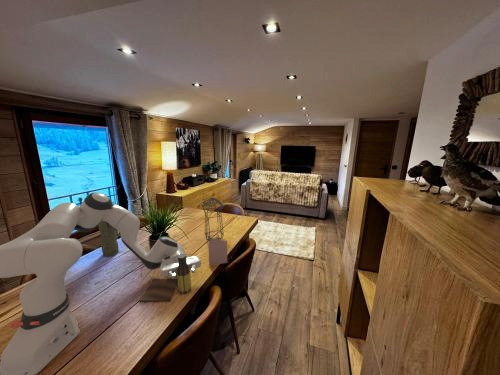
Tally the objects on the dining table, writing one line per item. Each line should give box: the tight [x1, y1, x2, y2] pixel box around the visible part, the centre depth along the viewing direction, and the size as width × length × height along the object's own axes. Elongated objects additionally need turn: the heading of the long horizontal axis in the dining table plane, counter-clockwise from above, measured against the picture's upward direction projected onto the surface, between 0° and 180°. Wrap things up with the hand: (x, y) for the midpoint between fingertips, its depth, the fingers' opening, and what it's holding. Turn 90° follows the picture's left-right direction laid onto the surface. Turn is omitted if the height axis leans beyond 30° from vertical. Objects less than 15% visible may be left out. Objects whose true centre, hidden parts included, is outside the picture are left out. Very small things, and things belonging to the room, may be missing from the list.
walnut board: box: [139, 277, 178, 303], centre depth 99 cm, size 15×14×1 cm
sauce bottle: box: [176, 253, 192, 296], centre depth 97 cm, size 6×6×20 cm
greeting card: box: [208, 237, 228, 266], centre depth 121 cm, size 11×7×15 cm, turn 74°
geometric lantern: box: [200, 197, 226, 243], centre depth 148 cm, size 16×16×35 cm
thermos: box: [97, 218, 120, 258], centre depth 127 cm, size 9×12×35 cm
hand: (184, 274), depth 97 cm, fingers open, 8 cm apart
